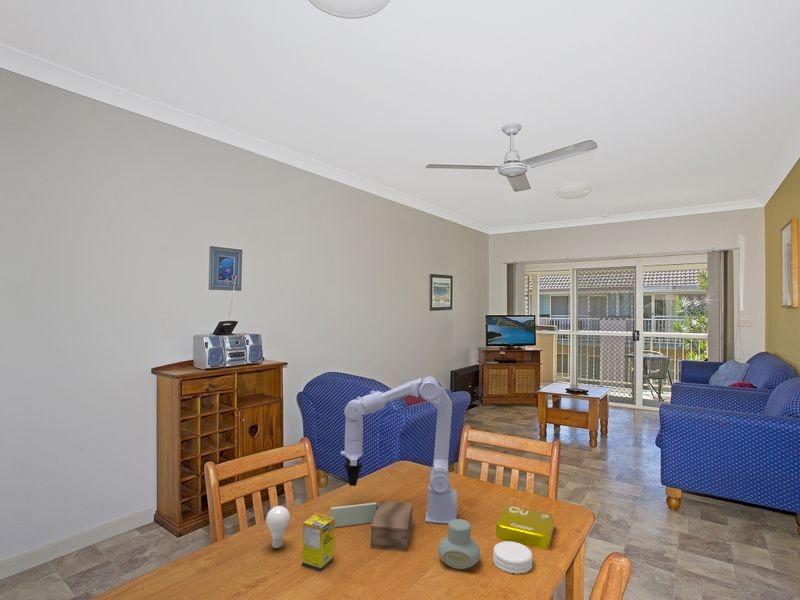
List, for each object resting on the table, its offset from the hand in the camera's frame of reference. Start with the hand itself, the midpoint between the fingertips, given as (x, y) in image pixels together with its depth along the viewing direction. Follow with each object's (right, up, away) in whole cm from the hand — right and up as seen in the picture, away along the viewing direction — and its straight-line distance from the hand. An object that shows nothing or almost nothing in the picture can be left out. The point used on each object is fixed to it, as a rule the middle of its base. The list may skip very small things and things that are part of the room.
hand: (352, 480), depth 143 cm
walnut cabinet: (+13, -10, -13) cm, 21 cm away
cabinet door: (+1, -10, -8) cm, 13 cm away
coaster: (+45, -11, -26) cm, 53 cm away
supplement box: (-6, -10, -28) cm, 31 cm away
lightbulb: (-18, -10, -22) cm, 30 cm away
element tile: (+53, -12, -10) cm, 55 cm away
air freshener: (+31, -11, -27) cm, 42 cm away
